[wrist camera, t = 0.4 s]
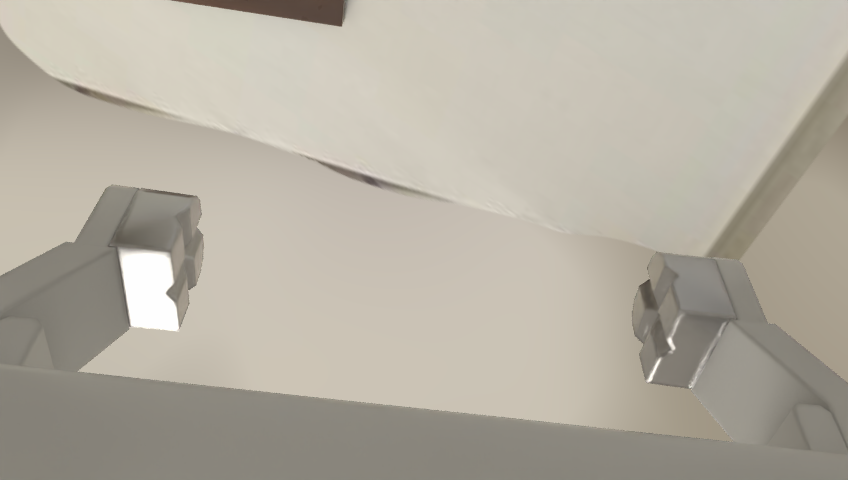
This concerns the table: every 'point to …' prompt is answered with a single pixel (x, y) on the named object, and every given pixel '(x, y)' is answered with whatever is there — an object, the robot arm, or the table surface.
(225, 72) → the table surface
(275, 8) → the board
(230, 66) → the table surface
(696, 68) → the table surface
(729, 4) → the table surface
